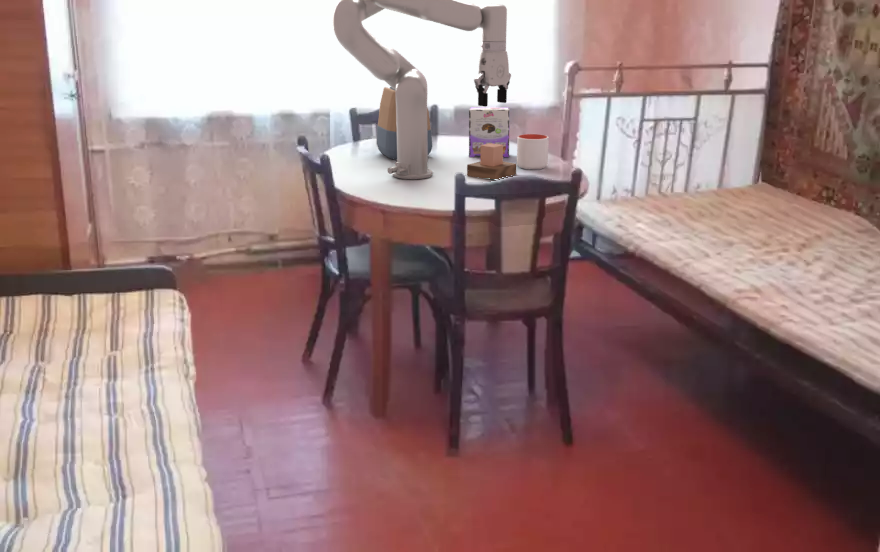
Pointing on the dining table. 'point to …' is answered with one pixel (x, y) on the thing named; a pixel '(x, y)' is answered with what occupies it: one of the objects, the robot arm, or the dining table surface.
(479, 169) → the plinth
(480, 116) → the candy box
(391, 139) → the tan two-tone rounded container
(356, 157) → the dining table surface
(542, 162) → the cup
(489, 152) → the brick
